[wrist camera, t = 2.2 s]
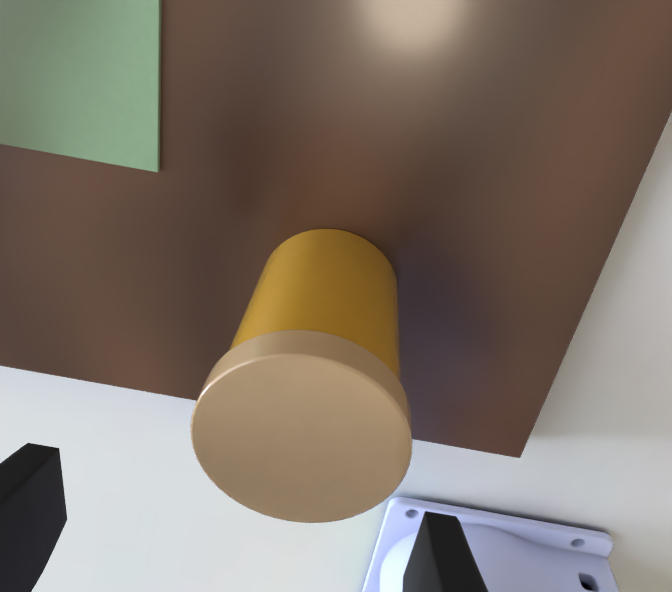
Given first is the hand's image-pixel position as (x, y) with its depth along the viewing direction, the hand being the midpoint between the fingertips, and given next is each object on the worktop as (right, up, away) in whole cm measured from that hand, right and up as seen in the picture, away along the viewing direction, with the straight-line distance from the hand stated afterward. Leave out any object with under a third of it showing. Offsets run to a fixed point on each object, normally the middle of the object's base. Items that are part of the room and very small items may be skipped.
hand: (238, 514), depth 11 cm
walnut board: (-1, +8, +7) cm, 11 cm away
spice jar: (+2, +4, +7) cm, 9 cm away
